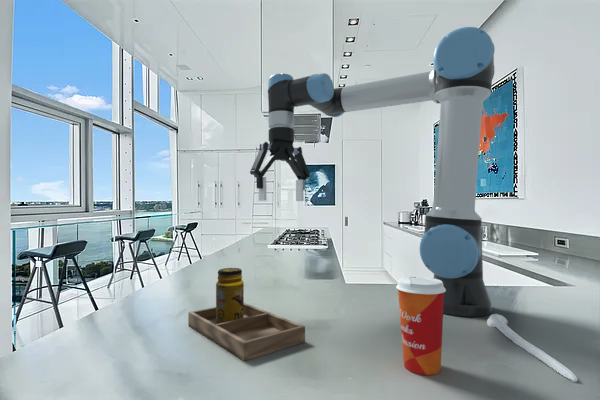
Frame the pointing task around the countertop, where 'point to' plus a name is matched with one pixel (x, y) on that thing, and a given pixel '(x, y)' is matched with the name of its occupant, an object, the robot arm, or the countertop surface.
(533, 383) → the countertop surface
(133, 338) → the countertop surface
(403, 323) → the paper cup
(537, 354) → the white nail
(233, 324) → the caddy
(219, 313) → the condiment
